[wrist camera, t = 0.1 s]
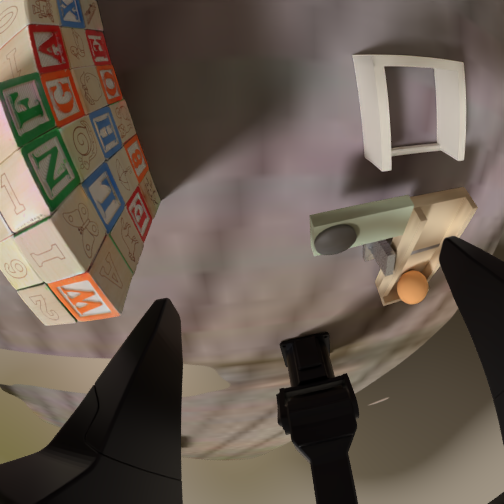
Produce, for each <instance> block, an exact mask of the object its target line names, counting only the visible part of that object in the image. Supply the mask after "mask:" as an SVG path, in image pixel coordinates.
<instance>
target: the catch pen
mask: <svg viewBox="0 0 504 504" xmlns="http://www.w3.org/2000/svg"><path fill="white" fill-rule="evenodd" d="M352 57H353V63H354V68H355V74H356V81H357V87H358V95H359V102H360V111H361V120H362V130H363V141H364V155H365V158H366V159H367V160H369V161H370V162H371V163H373V164H374V165H375V166H376V167H377V168H379V169H380V170H381V171H382V172H384V171H390V170H391V156H398V155H406V154H414V153H422V152H431V151H443V152H444V153H446V154H448V155H449V156H451V157H452V158H454V159H456V160H457V161H462V160H464V154H465V138H466V87H465V72H464V62H458V61H452V60H446V59H439V58H431V57H421V56H407V55H379V54H368V55H352ZM384 66H404V67H423V68H434V75H435V87H436V105H437V143H434V144H423V145H413V146H404V147H396V148H391V132H390V116H389V104H388V93H387V84H386V76H385V69H384Z"/></svg>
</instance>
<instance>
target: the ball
mask: <svg viewBox="0 0 504 504" xmlns="http://www.w3.org/2000/svg"><path fill="white" fill-rule="evenodd" d="M397 292H398V295H399V297H400V299H401V300H402V301H404V302H405V303H407V304H417V303H419V302H421V301H422V300H423V299H424V298H425V296H426V294H427V292H428V282H427V279H426V277H425V276H424V275H423V274H422V273H420V272H418V271H413V270H412V271H408V272H406V273H404V274H403V275H402V276H401V277H400V279H399V281H398V284H397Z"/></svg>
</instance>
